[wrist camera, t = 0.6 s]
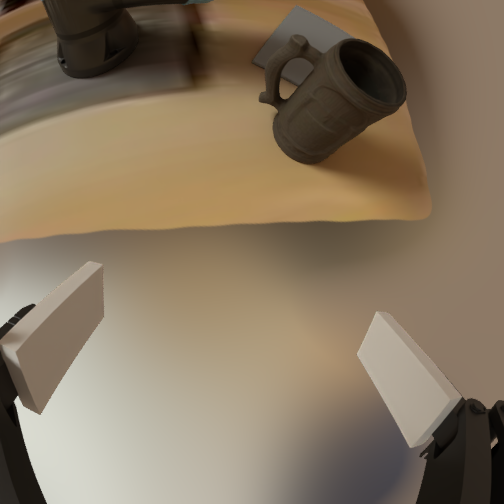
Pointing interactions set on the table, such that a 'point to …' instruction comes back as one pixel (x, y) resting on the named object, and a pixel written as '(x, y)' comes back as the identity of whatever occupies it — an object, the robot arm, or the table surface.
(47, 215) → the table surface
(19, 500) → the robot arm
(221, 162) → the table surface
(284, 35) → the mat
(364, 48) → the beer stein
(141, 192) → the table surface
